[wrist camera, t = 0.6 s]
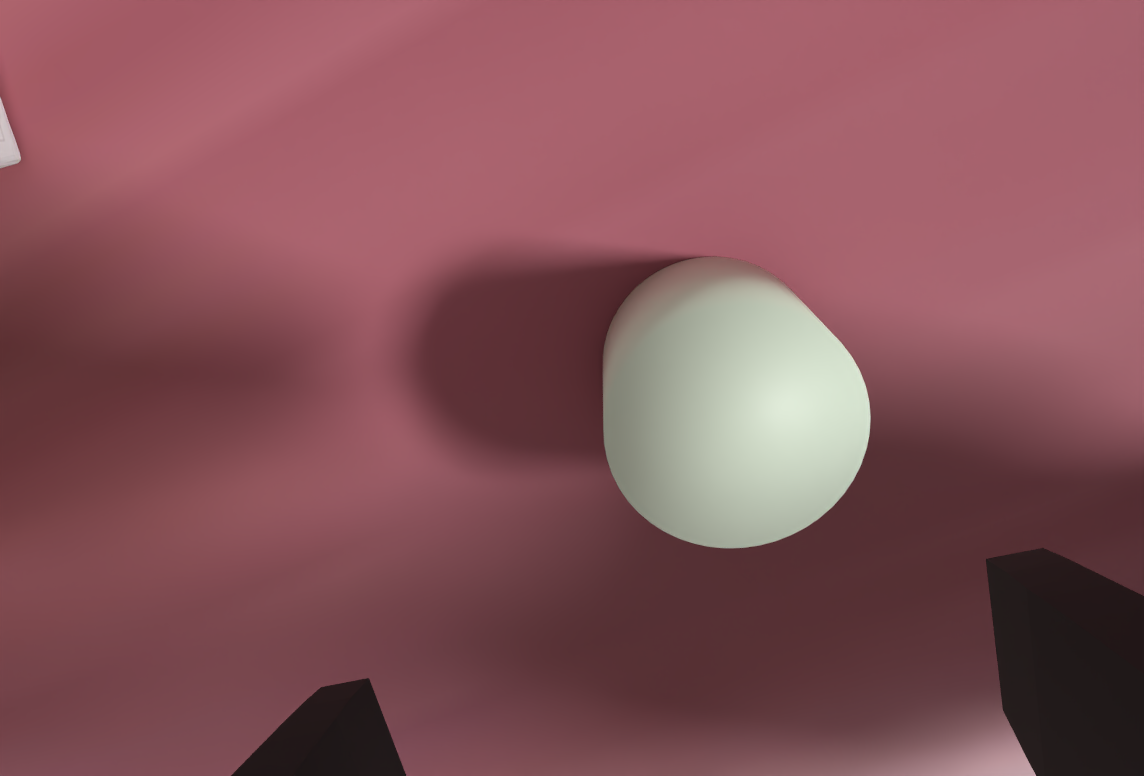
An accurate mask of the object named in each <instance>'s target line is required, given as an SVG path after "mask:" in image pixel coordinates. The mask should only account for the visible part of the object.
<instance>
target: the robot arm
mask: <svg viewBox="0 0 1144 776" xmlns="http://www.w3.org/2000/svg"><path fill="white" fill-rule="evenodd" d="M986 564H987V573H988V582H989V591H990V600H991V608H992V617H993V626H994V635H995V644H996V652H997V661H998V670H999V679H1000V688H1001V697H1002V705H1003V711H1004V713H1005V715H1006V717H1007V719H1008V721H1009V723H1010V725H1011V727H1012V729H1013V731H1014V733H1015V735H1016V737H1017V739H1018V741H1019V743H1020V745H1021V747H1022V749H1023V751H1024V753H1025V755H1026V757H1027V759H1028V761H1029V763H1030V765H1031V767H1032V768H1033V770H1034V772H1035V774H1036V776H1144V596H1142V595H1140V594H1138V593H1136V592H1134V591H1132V590H1130V589H1128V588H1126V587H1124V586H1122V585H1120V584H1118V583H1116V582H1114V581H1112V580H1110V579H1108V578H1106V577H1104V576H1102V575H1099V574H1097V573H1095V572H1093V571H1091V570H1089V569H1087V568H1085V567H1083V566H1081V565H1079V564H1077V563H1075V562H1073V561H1071V560H1069V559H1066V558H1064V557H1062V556H1060V555H1058V554H1056V553H1053V552H1051V551H1049V550H1046V549H1044V548H1041V549H1036V550H1031V551H1025V552H1020V553H1015V554H1010V555H1005V556H999V557H994V558H989V559H986ZM231 776H406V774H405V771H404V769H403V766H402V764H401V761H400V758H399V756H398V753H397V750H396V748H395V745H394V743H393V740H392V737H391V735H390V732H389V730H388V727H387V724H386V722H385V719H384V717H383V714H382V711H381V709H380V706H379V703H378V701H377V698H376V696H375V693H374V690H373V688H372V685H371V683H370V680H369V678H367V679H362V680H356V681H351V682H346V683H341V684H336V685H330V686H325V687H321V688H320V689H319V690H317V691H316V692H315V693H314V694H313V695H312V696H311V697H309V698H308V699H307V700H306V701H305V702H304V703H303V704H302V705H301V706H300V707H299V708H298V709H297V710H296V711H295V712H294V713H293V714H292V715H291V716H289V717H288V718H287V719H286V720H285V721H284V722H283V723H282V724H281V725H280V726H279V727H278V728H277V730H276V731H275V732H274V733H273V734H272V735H271V736H270V737H269V738H268V739H267V740H266V741H265V742H264V743H263V744H262V745H261V746H260V747H259V748H258V749H257V750H256V751H255V752H254V753H253V754H252V755H251V756H250V757H249V758H248V759H247V760H246V761H245V762H244V763H243V764H242V765H241V766H240V767H239V768H238V769H237V770H236V771H235V772H234V773H233V774H232V775H231Z"/></svg>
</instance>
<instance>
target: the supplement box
mask: <svg viewBox="0 0 1144 776" xmlns="http://www.w3.org/2000/svg"><path fill="white" fill-rule="evenodd" d="M20 160H21V156H20V152H19V149H18V146H17V143H16V141H15V138H14V135H13V132H12V130H11V127H10V124H9V121H8V118H7V115H6V112H5V109H4V107H3V104H2V101H1V98H0V168H3V167H7V166H10V165H14V164H17V163H19V162H20Z"/></svg>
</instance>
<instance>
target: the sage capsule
mask: <svg viewBox="0 0 1144 776" xmlns="http://www.w3.org/2000/svg"><path fill="white" fill-rule="evenodd" d="M870 419H871V417H870V405H869V398H868V394H867V390H866V385H865V383H864V380H863V378H862V375H861V373H860V370H859V368H858V367H857V365H856V363H855V361H854V360H853V358H852V356H851V355H850V354H849V352H848V351H847V350H846V348H845V347H844V346H843V345H842V343H841V342H840V341H839V340H838V339H837V338H836V337H835V336H834V335H833V334H832V333H831V332H830V331H829V329H828V328H827V327H826V326H825V325H824V324H823V323H822V322H821V321H820V320H819V319H818V318H817V317H816V316H815V315H814V314H813V313H812V311H811V310H810V309H809V308H808V307H807V306H806V305H805V304H804V303H803V302H802V301H801V300H800V299H799V298H798V297H797V296H796V295H795V293H794V292H793V291H792V290H791V289H790V288H789V287H788V286H787V285H785V284H784V283H783V282H782V281H781V280H780V279H779V278H777V277H776V276H774V275H773V274H772V273H770V272H769V271H767V270H765V269H763V268H761V267H759V266H757V265H754V264H752V263H749V262H746V261H743V260H738V259H734V258H727V257H699V258H694V259H688V260H684V261H681V262H678V263H675V264H672V265H670V266H668V267H665V268H663V269H661V270H659V271H658V272H656V273H654V274H653V275H651V276H649V277H648V278H647V279H645V280H644V281H643V282H642V283H640V284H639V285H638V286H637V287H636V288H635V289H634V290H633V291H632V292H631V293H630V294H629V295H628V296H627V297H626V299H625V300H624V301H623V303H622V304H621V306H620V307H619V308H618V310H617V312H616V314H615V316H614V317H613V319H612V321H611V324H610V327H609V329H608V332H607V335H606V340H605V344H604V351H603V430H604V446H605V451H606V457H607V461H608V464H609V467H610V470H611V473H612V475H613V477H614V479H615V481H616V483H617V485H618V487H619V489H620V490H621V492H622V493H623V495H624V496H625V498H626V499H627V500H628V502H629V503H630V504H631V505H632V506H633V507H634V508H635V509H636V510H637V512H638V513H639V514H641V515H642V516H643V517H644V518H645V519H647V520H648V521H649V522H650V523H652V524H653V525H655V526H656V527H658V528H659V529H661V530H662V531H664V532H666V533H668V534H670V535H672V536H674V537H677V538H679V539H682V540H685V541H688V542H691V543H694V544H698V545H703V546H708V547H716V548H746V547H752V546H759V545H763V544H767V543H771V542H775V541H778V540H780V539H783V538H785V537H788V536H790V535H793V534H794V533H796V532H798V531H800V530H802V529H804V528H806V527H807V526H809V525H810V524H812V523H813V522H815V521H816V520H817V519H819V518H820V517H822V516H823V515H824V514H825V513H826V512H827V511H828V510H829V509H831V508H832V507H833V506H834V505H835V503H836V502H837V501H838V500H839V499H840V498H841V497H842V496H843V494H844V493H845V492H846V490H847V489H848V487H849V486H850V484H851V483H852V481H853V480H854V478H855V476H856V474H857V472H858V470H859V468H860V466H861V464H862V461H863V458H864V455H865V452H866V449H867V444H868V439H869V434H870Z"/></svg>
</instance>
